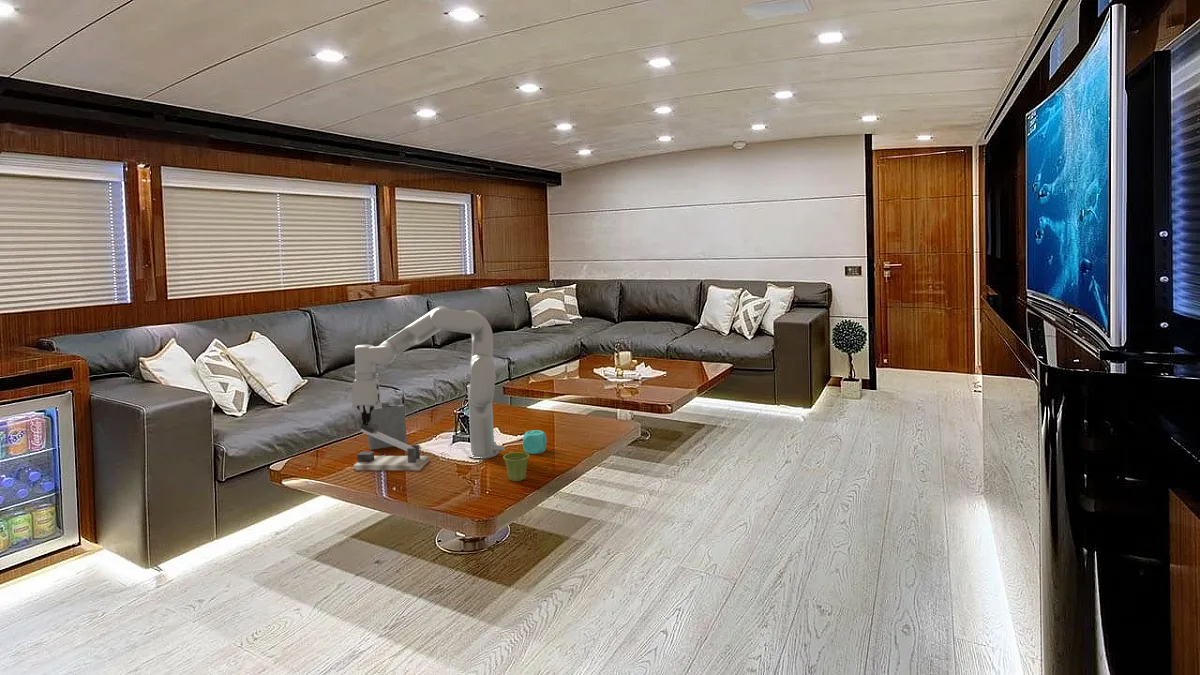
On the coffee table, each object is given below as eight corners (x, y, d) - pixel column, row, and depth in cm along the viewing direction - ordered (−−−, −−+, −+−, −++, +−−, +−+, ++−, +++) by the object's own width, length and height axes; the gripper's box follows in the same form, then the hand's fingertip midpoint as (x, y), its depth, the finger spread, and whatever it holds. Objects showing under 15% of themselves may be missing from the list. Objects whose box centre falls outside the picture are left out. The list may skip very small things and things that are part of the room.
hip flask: (369, 450, 284) (366, 404, 282) (368, 447, 288) (365, 402, 285) (407, 444, 291) (404, 400, 289) (405, 442, 295) (403, 398, 292)
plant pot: (529, 482, 240) (528, 459, 239) (503, 483, 239) (502, 460, 238) (530, 474, 249) (529, 451, 248) (505, 475, 249) (504, 452, 247)
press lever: (415, 450, 264) (418, 442, 264) (410, 454, 259) (413, 446, 259) (364, 428, 264) (367, 420, 264) (359, 431, 259) (362, 423, 259)
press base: (429, 460, 268) (428, 442, 267) (419, 470, 256) (418, 451, 255) (366, 460, 270) (365, 442, 269) (353, 470, 258) (352, 451, 257)
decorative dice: (541, 454, 273) (540, 435, 272) (523, 453, 275) (522, 434, 274) (546, 448, 281) (546, 430, 280) (528, 448, 283) (528, 429, 282)
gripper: (388, 375, 262) (388, 420, 264) (351, 374, 263) (352, 419, 265) (380, 378, 255) (381, 425, 257) (342, 377, 256) (343, 423, 258)
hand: (366, 422), depth 261 cm, fingers closed
